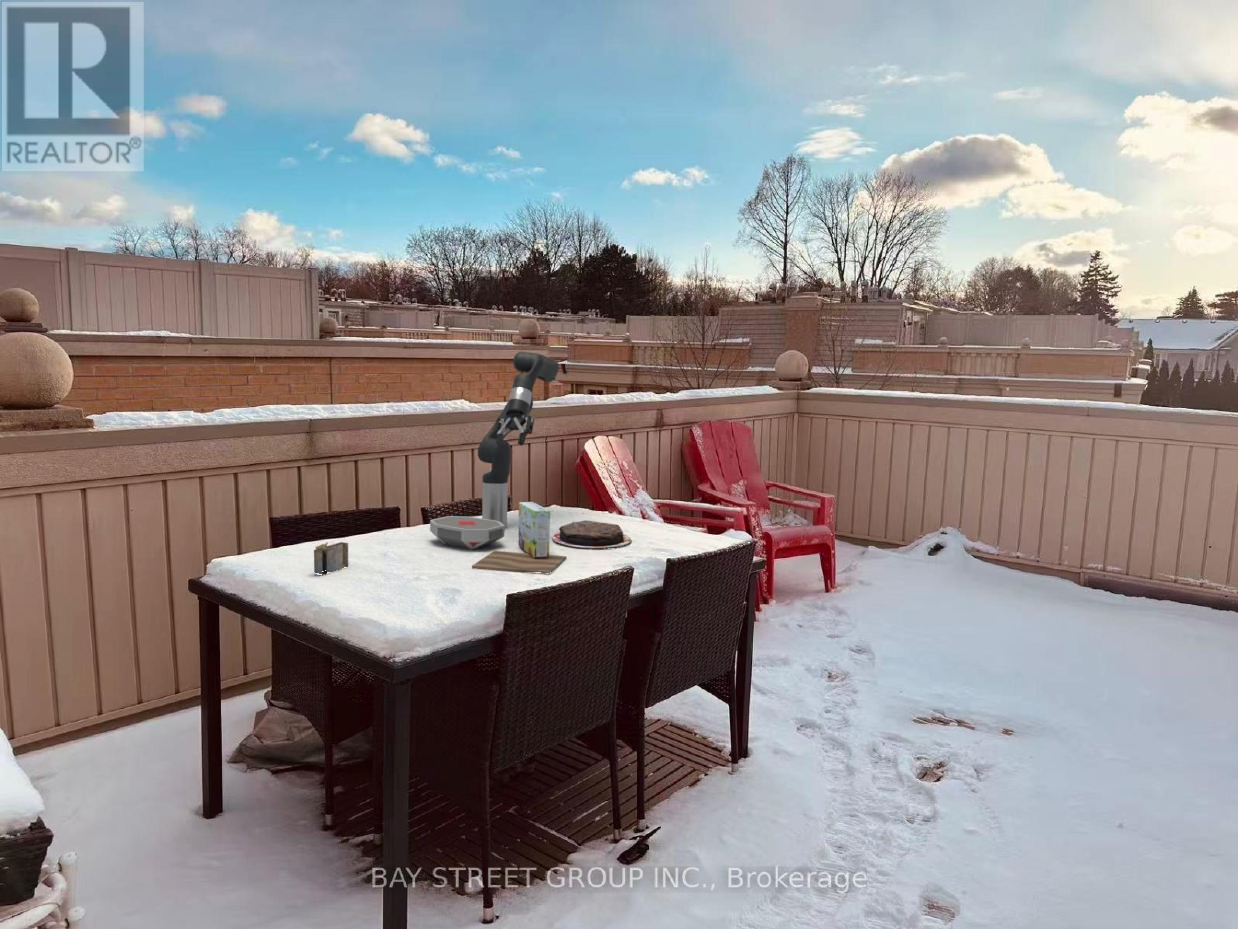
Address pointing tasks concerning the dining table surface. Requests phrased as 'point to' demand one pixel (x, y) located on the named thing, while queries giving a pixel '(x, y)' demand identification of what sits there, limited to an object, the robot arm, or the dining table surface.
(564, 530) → the chocolate cake
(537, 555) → the snack box
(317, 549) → the ruin model on sheet
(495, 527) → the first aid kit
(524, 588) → the dining table surface
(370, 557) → the dining table surface
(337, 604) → the dining table surface
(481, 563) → the walnut board
